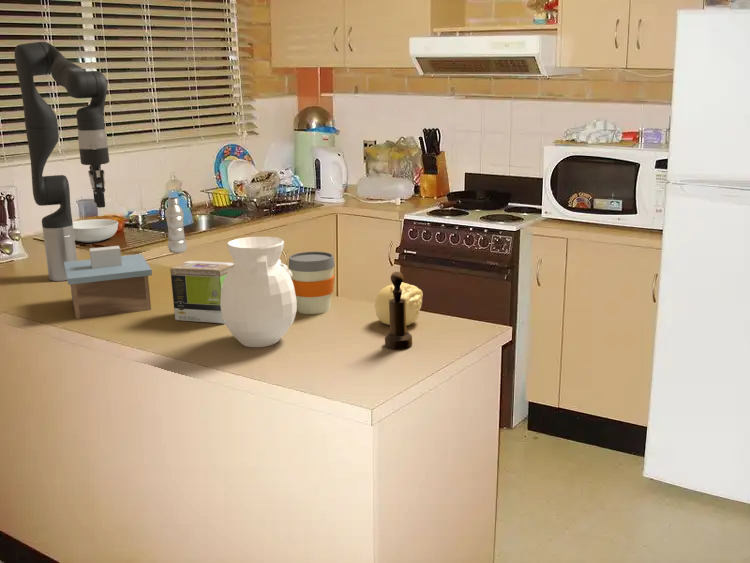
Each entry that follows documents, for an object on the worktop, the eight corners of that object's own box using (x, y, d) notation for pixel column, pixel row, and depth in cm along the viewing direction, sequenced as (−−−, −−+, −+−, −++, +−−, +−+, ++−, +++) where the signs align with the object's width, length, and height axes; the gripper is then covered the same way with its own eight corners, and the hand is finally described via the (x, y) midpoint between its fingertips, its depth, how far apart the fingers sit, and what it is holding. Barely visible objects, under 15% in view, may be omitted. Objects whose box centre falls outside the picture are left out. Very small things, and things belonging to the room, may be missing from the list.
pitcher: (305, 348, 203) (300, 245, 197) (228, 357, 198) (220, 252, 192) (290, 325, 221) (285, 231, 214) (219, 334, 216) (211, 237, 209)
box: (72, 300, 250) (68, 267, 247) (142, 292, 257) (139, 260, 255) (76, 318, 232) (71, 283, 229) (151, 309, 239) (147, 274, 237)
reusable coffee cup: (305, 301, 243) (303, 249, 239) (344, 305, 237) (342, 253, 234) (282, 313, 232) (279, 259, 228) (322, 318, 227) (319, 263, 223)
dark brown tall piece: (383, 341, 207) (381, 269, 202) (410, 340, 207) (409, 268, 203) (386, 350, 200) (384, 276, 196) (413, 349, 201) (412, 274, 196)
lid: (64, 267, 248) (61, 245, 246) (142, 259, 256) (139, 237, 254) (68, 284, 228) (65, 260, 227) (152, 275, 236) (149, 251, 234)
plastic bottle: (183, 254, 306) (178, 199, 301) (165, 254, 307) (160, 199, 302) (190, 251, 312) (185, 196, 307) (173, 250, 313) (168, 196, 308)
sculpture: (409, 332, 213) (408, 290, 210) (367, 326, 219) (366, 285, 216) (429, 320, 222) (428, 280, 220) (388, 314, 228) (388, 275, 226)
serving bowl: (110, 245, 326) (108, 227, 324) (56, 246, 326) (53, 229, 325) (126, 234, 346) (124, 217, 344) (75, 235, 346) (73, 219, 345)
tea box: (241, 314, 232) (237, 261, 229) (223, 325, 223) (219, 270, 219) (193, 310, 237) (188, 258, 233) (173, 320, 228) (168, 267, 224)
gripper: (77, 145, 238) (84, 202, 242) (80, 149, 225) (87, 210, 230) (105, 143, 241) (111, 200, 245) (110, 147, 228) (116, 207, 232)
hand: (99, 205), depth 237 cm, fingers open, 8 cm apart
